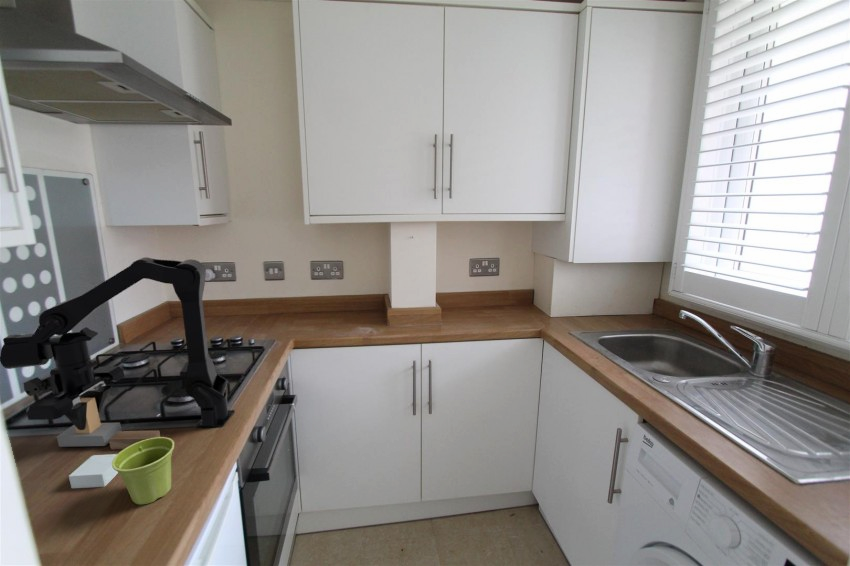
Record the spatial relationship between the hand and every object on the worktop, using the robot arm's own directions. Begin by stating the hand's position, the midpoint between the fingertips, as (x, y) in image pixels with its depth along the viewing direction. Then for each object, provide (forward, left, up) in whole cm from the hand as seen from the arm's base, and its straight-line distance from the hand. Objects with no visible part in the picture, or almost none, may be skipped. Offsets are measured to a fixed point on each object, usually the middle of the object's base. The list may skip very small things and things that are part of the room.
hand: (88, 425), depth 88 cm
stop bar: (+2, +11, -4) cm, 12 cm away
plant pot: (+16, +24, -4) cm, 29 cm away
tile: (+11, +11, -4) cm, 16 cm away
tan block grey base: (0, 0, -4) cm, 4 cm away
